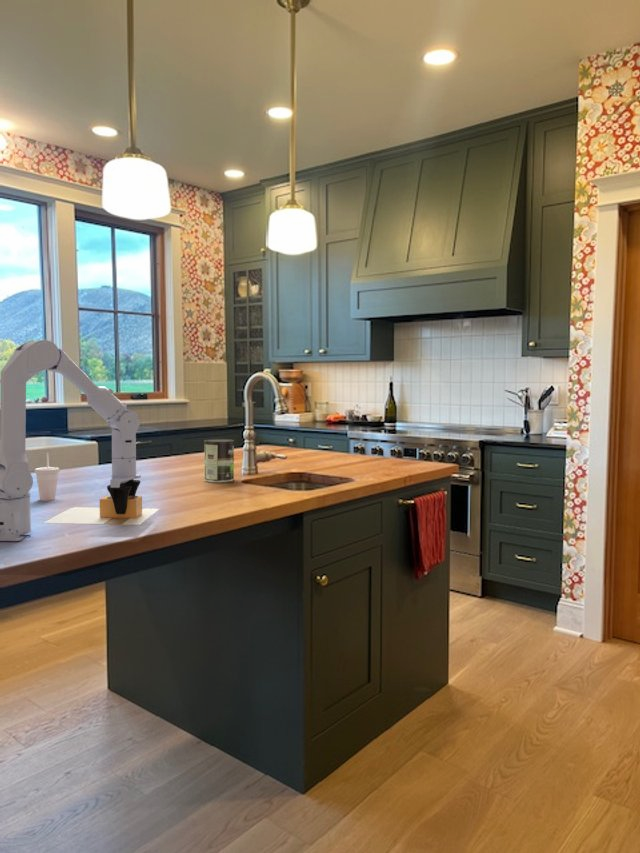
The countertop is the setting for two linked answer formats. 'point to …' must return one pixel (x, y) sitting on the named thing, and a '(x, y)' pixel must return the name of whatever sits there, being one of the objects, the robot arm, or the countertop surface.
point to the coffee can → (219, 460)
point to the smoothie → (47, 481)
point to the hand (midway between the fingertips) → (124, 511)
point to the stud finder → (131, 512)
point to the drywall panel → (97, 517)
